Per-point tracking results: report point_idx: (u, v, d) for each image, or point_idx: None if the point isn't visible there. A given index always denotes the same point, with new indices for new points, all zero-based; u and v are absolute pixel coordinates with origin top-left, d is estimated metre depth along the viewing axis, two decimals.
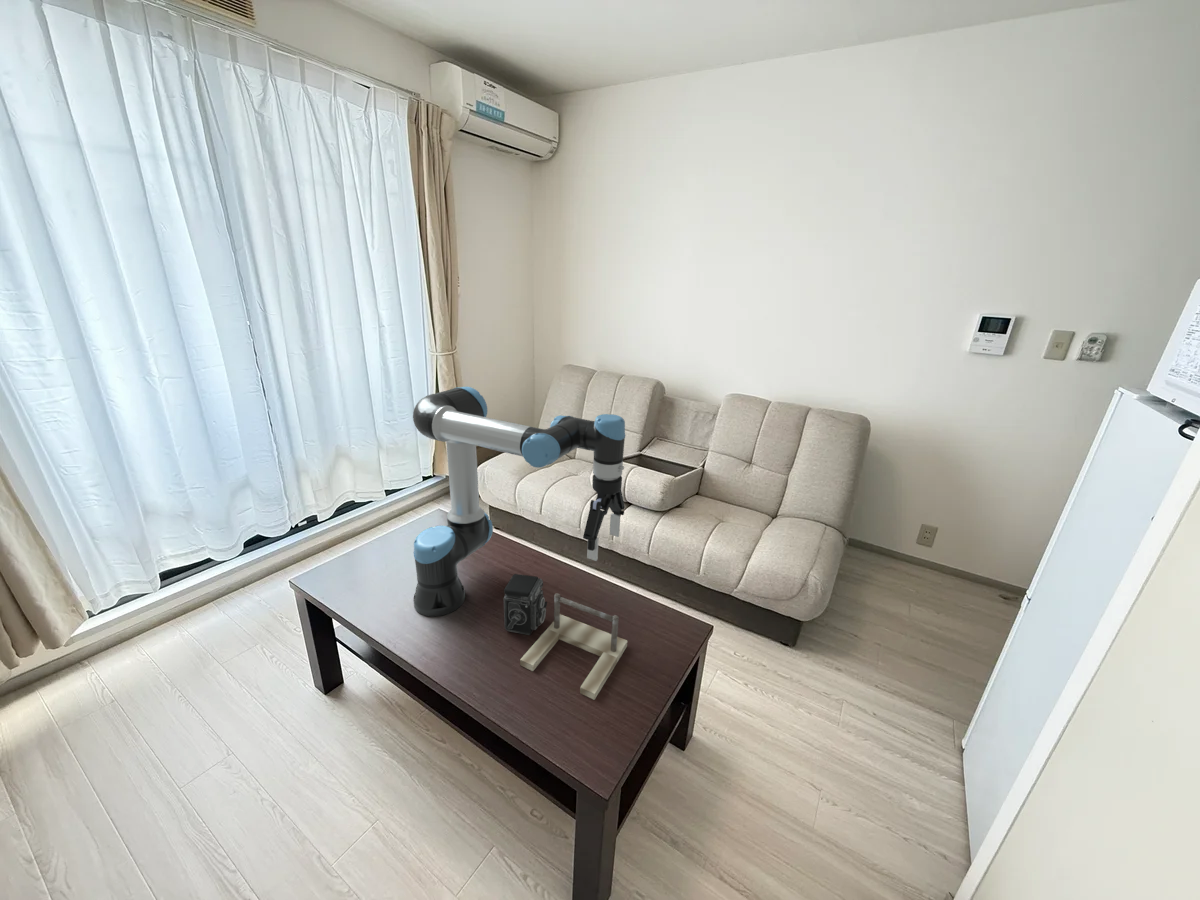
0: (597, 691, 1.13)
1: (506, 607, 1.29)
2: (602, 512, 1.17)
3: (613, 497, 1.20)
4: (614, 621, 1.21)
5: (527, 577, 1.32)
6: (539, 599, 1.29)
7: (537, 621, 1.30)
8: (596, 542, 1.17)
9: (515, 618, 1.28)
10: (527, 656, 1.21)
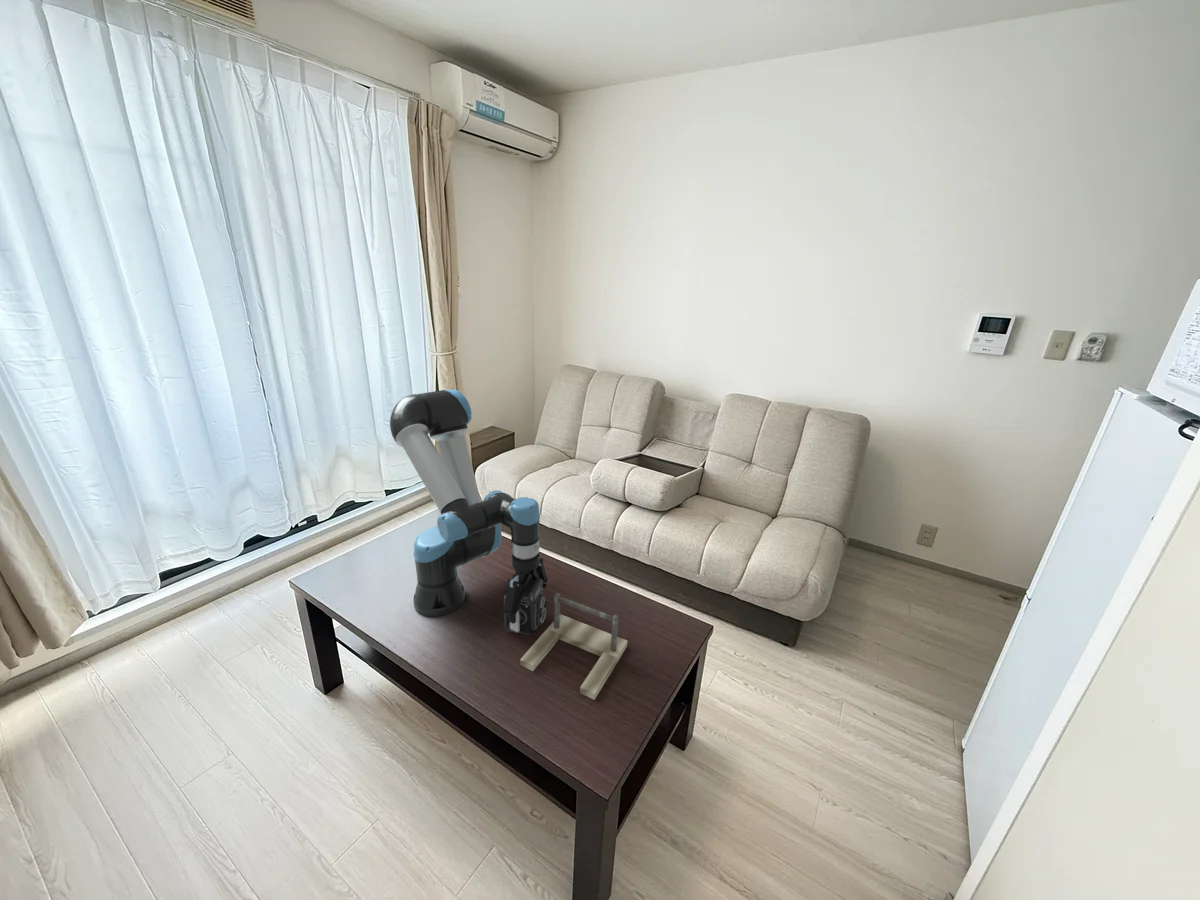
0: (597, 691, 1.13)
1: None
2: (521, 588, 1.26)
3: (532, 572, 1.28)
4: (614, 621, 1.21)
5: None
6: (539, 599, 1.29)
7: (537, 621, 1.30)
8: (516, 616, 1.26)
9: None
10: (527, 656, 1.21)
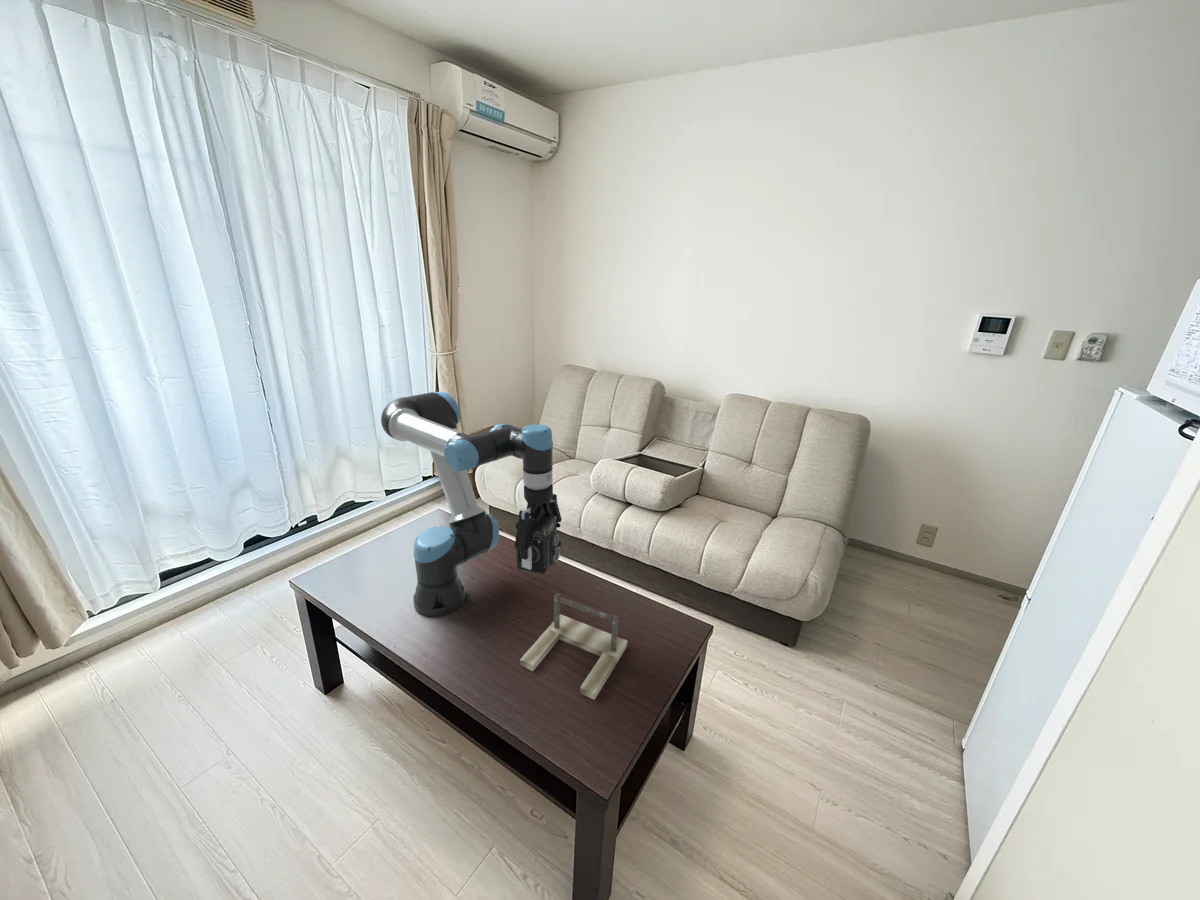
0: (597, 691, 1.13)
1: None
2: (533, 521, 1.19)
3: (545, 506, 1.21)
4: (614, 621, 1.21)
5: None
6: (552, 535, 1.22)
7: (550, 559, 1.23)
8: (529, 552, 1.19)
9: None
10: (527, 656, 1.21)
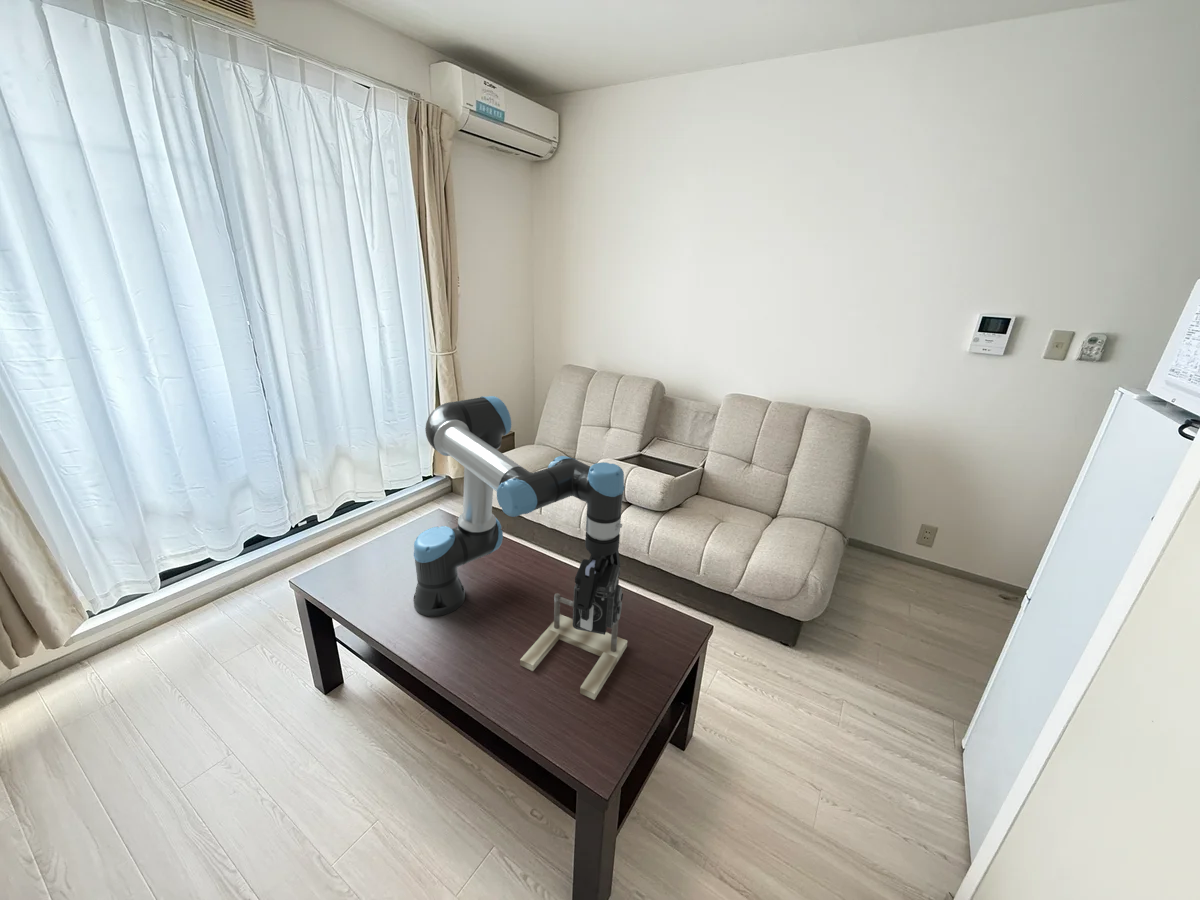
0: (597, 691, 1.13)
1: (576, 600, 1.04)
2: (597, 576, 1.01)
3: (609, 556, 1.03)
4: None
5: None
6: (617, 590, 1.04)
7: (614, 617, 1.05)
8: (591, 611, 1.01)
9: None
10: (527, 656, 1.21)
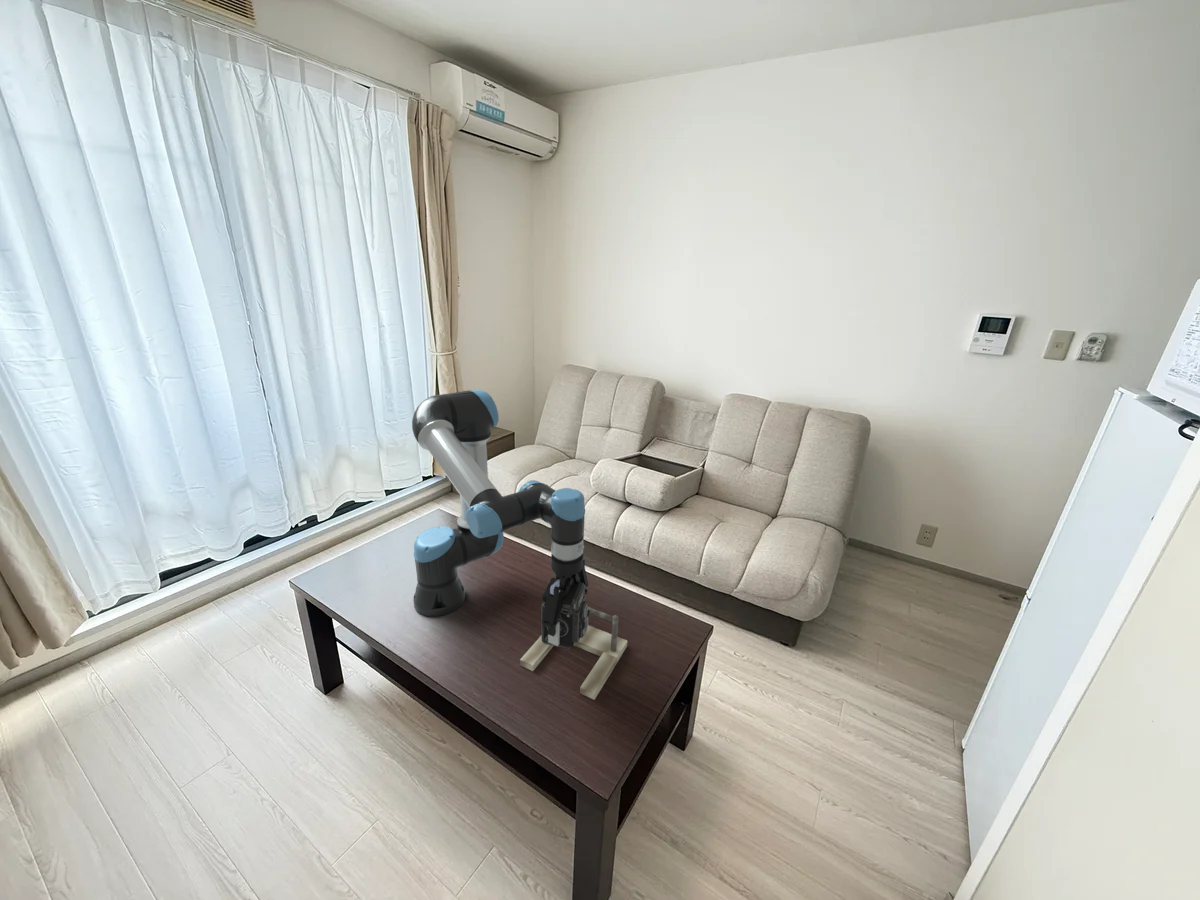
0: (597, 691, 1.13)
1: None
2: (562, 594, 1.07)
3: (574, 575, 1.10)
4: (614, 621, 1.21)
5: None
6: (582, 607, 1.11)
7: (580, 633, 1.11)
8: (557, 627, 1.08)
9: None
10: (527, 656, 1.21)
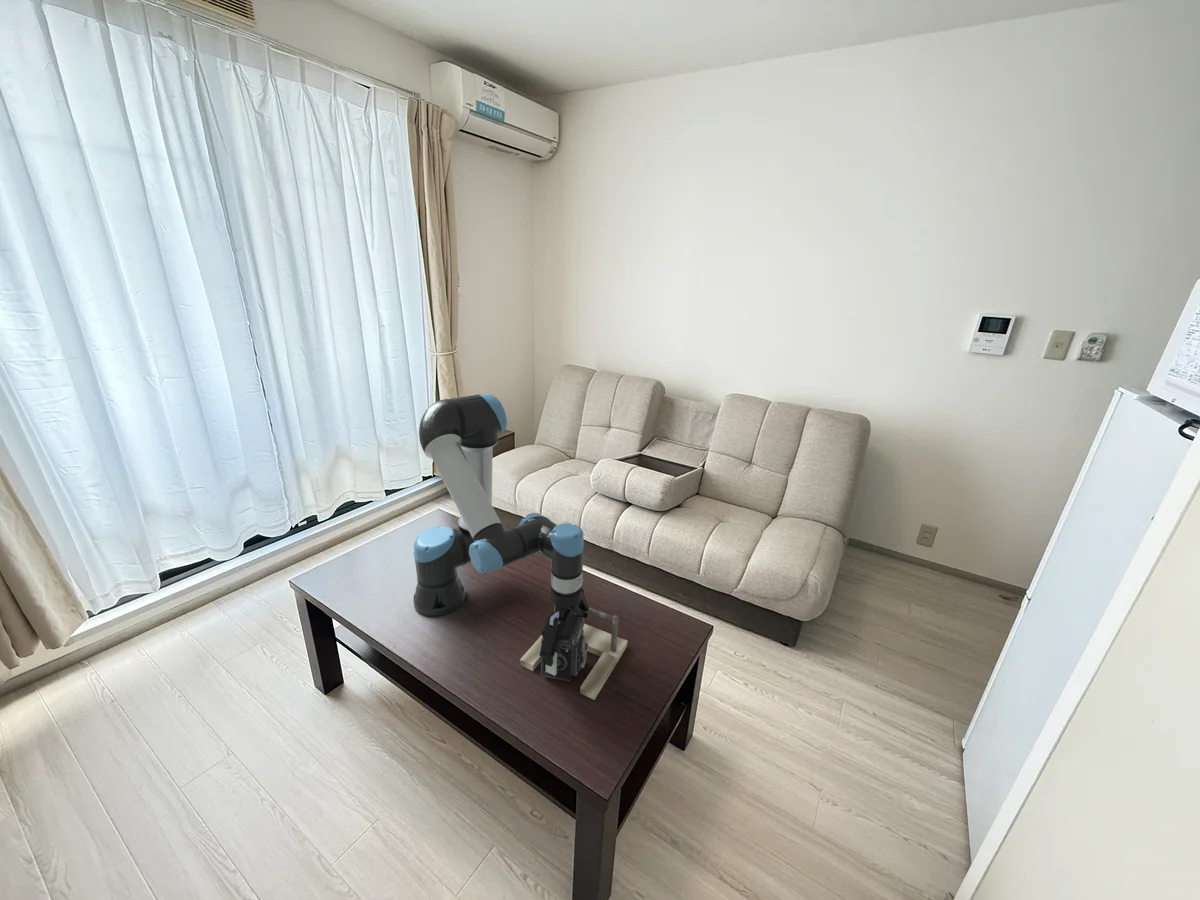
0: (597, 691, 1.13)
1: None
2: (561, 625, 1.10)
3: (573, 607, 1.13)
4: (614, 621, 1.21)
5: None
6: (581, 642, 1.15)
7: (578, 666, 1.15)
8: (554, 658, 1.10)
9: None
10: (527, 656, 1.21)
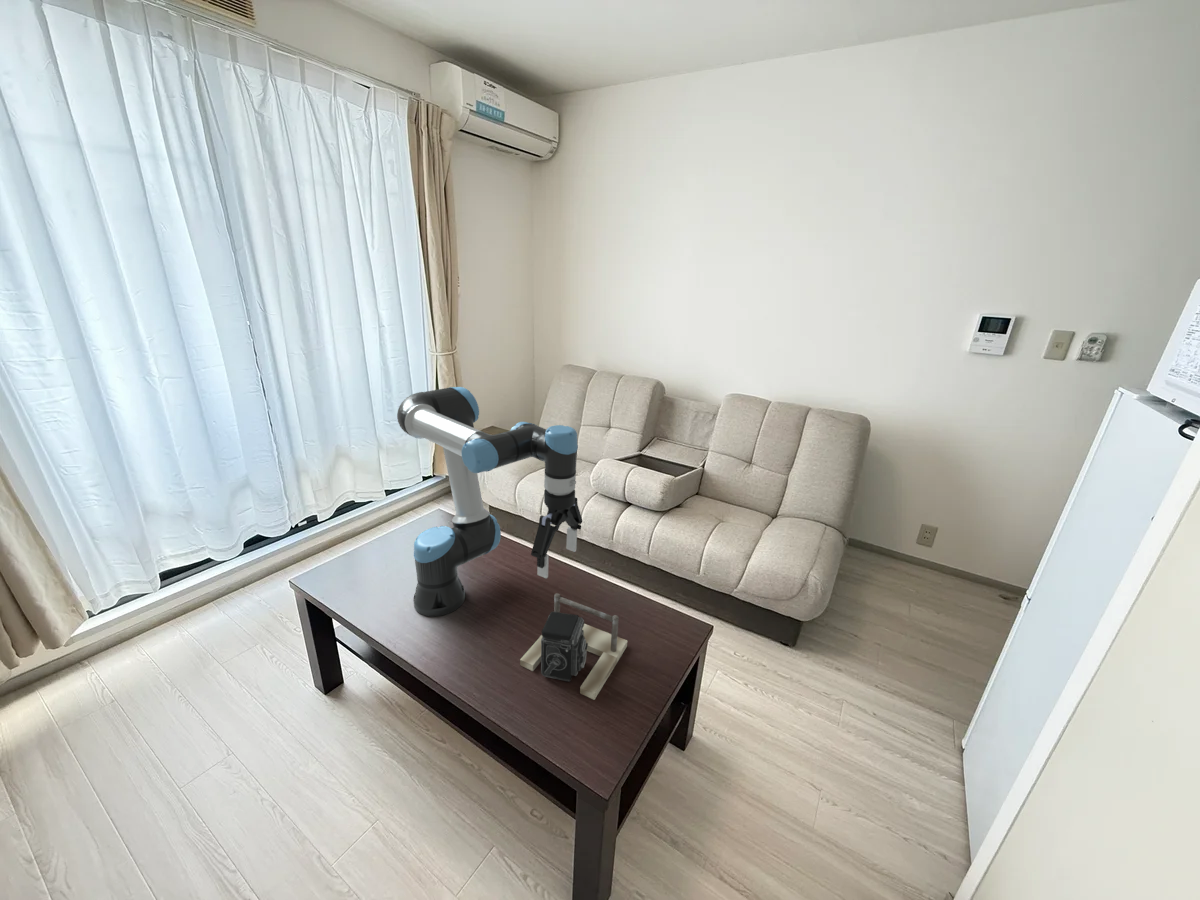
0: (597, 691, 1.13)
1: (543, 651, 1.14)
2: (553, 528, 1.11)
3: (566, 512, 1.14)
4: (614, 621, 1.21)
5: (566, 616, 1.18)
6: (581, 642, 1.15)
7: (578, 666, 1.15)
8: (546, 560, 1.11)
9: (554, 663, 1.14)
10: (527, 656, 1.21)
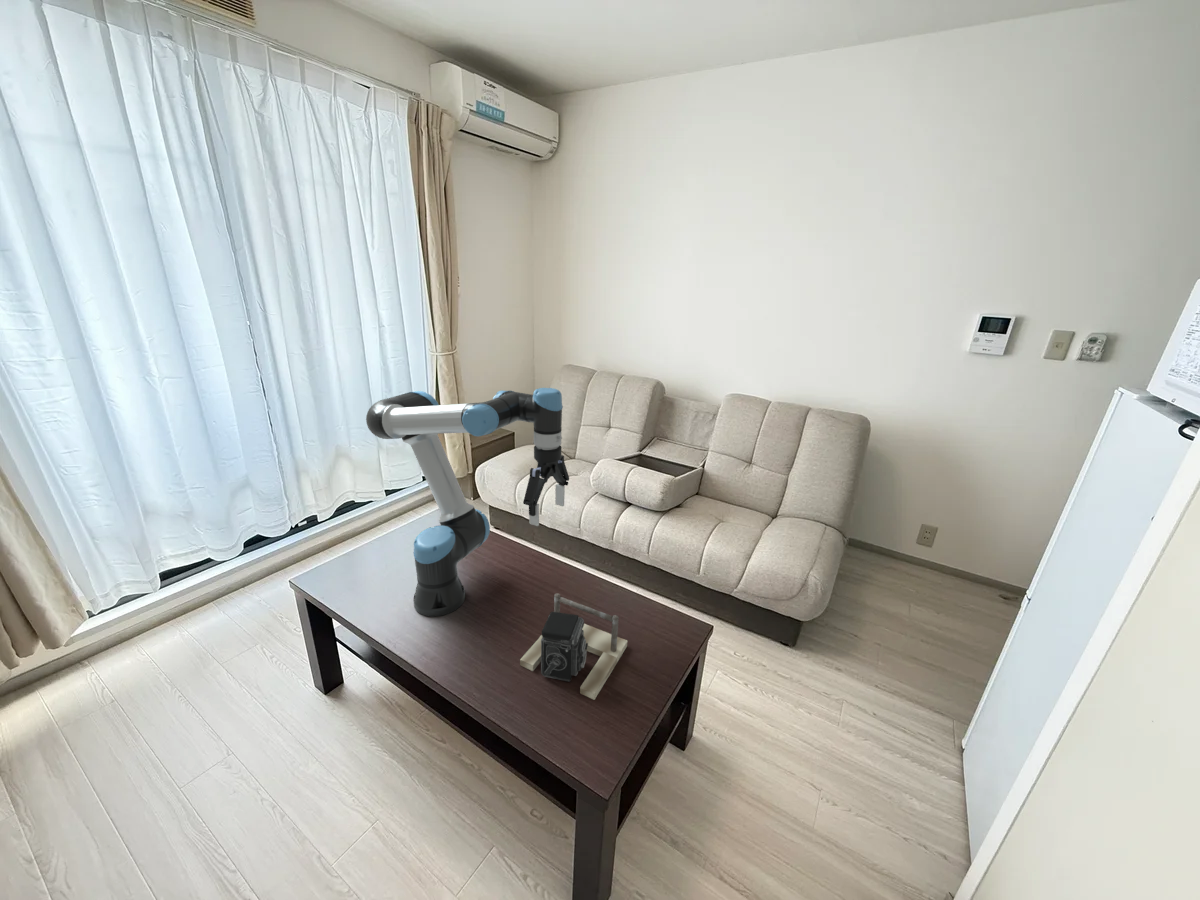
0: (597, 691, 1.13)
1: (543, 651, 1.14)
2: (542, 480, 1.25)
3: (554, 467, 1.28)
4: (614, 621, 1.21)
5: (566, 616, 1.18)
6: (580, 642, 1.15)
7: (578, 666, 1.15)
8: (536, 508, 1.25)
9: (554, 663, 1.14)
10: (527, 656, 1.21)
